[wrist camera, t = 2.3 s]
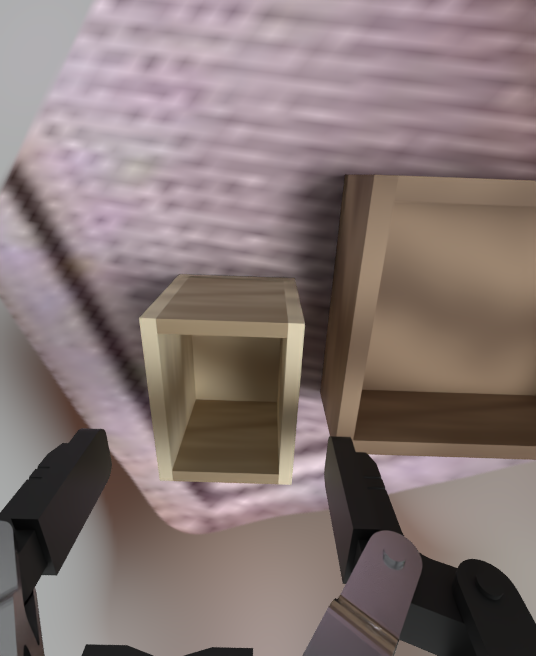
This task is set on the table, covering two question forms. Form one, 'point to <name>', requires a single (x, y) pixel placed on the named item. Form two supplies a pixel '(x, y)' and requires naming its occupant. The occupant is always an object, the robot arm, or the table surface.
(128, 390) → the table surface
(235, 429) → the pine crate
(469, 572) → the robot arm
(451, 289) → the walnut crate
